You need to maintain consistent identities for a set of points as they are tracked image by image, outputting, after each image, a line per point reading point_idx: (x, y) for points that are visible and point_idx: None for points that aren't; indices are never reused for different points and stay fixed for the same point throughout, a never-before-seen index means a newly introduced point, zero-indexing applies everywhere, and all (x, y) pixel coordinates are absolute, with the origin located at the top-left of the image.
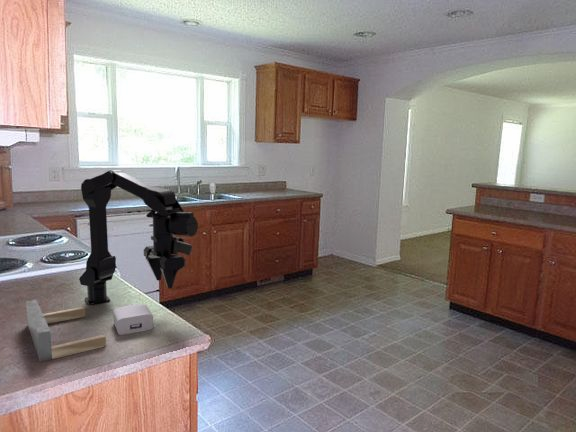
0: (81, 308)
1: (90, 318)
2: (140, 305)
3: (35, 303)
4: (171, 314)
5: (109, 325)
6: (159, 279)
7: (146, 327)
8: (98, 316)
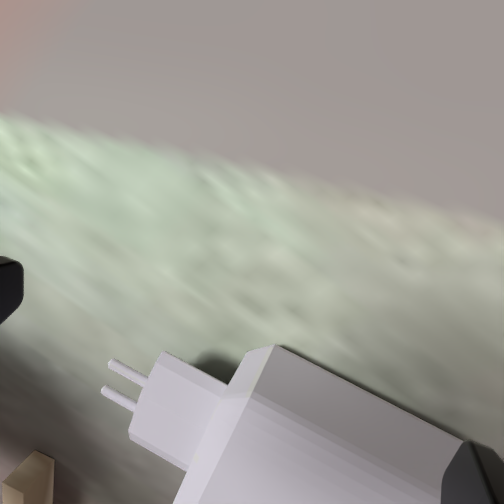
0: (19, 502)
1: (89, 466)
2: (252, 457)
3: None
4: (356, 197)
5: None
6: (13, 282)
7: None
8: (86, 438)
